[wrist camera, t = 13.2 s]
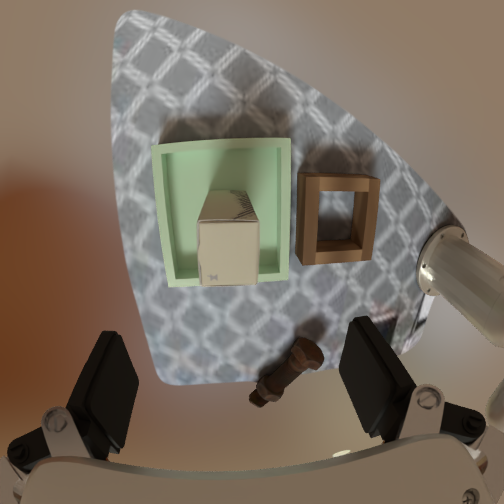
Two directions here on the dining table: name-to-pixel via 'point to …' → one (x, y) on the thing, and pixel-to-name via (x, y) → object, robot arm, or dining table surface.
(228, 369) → the dining table surface
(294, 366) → the bolt
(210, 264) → the box
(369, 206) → the frame
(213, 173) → the tray
